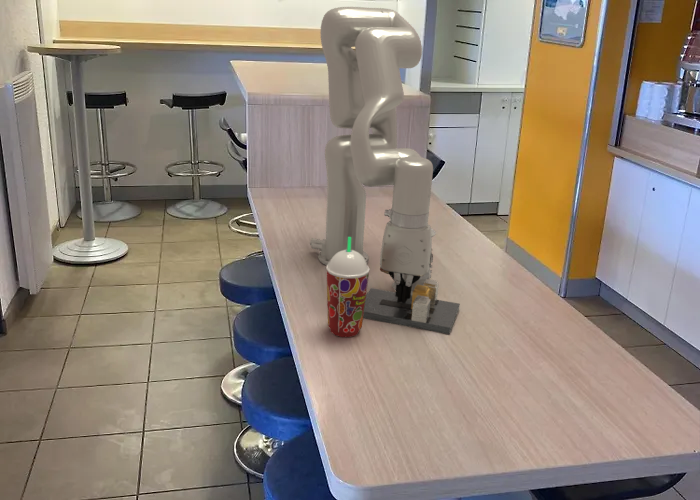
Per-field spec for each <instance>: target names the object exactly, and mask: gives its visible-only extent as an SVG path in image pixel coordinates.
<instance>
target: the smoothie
mask: <svg viewBox="0 0 700 500" xmlns="http://www.w3.org/2000/svg"><path fill="white" fill-rule="evenodd" d="M325 266H326V267H325V268H326V297H327V298H326V301H327V302H326V303H327V307H326V309H327V326H328V328H329V330H330V332H331V334H333V335H335V336H337V337H338V338H351V337H354V336H356V335H358V334H359V332H360V330H361V329H362V327H363V320H364V318H363V314H364V307H365V299H366V294H367V293H368V291H367V290H368V284H369V277H370V266H369V265H368V263H366V260H365V259H364V257H363V256H362V255H361V254H360V253H358V252H356V251H354V250H351V237H348V247H347V250H342V251H340V252H338V253H336V254H335V255H334V256H333V257H332V259H331V260H330V262H329V264H328V265H325Z"/></svg>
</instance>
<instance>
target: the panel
mask: <svg viewBox="0 0 700 500" xmlns="http://www.w3.org/2000/svg"><path fill="white" fill-rule="evenodd" d="M423 286H428V289H430V291H429V297H426V296H420V295H417V297H416V298H415V300H414V302H413V309H411V305H412V295H411V296H410V299H407V301H406V302H405V304H404V303H402V301H401V302H400V303H399V302H397V300H398V297H396V296H395V294H396V291H395V292H394V291H389V290H384V289H380V288H379V289H377V288H373V287H370V289H369V290H368V291H367V292H366V299H365V307H364V314H363V319H366V320H372V321H378V322H382V323H388V324H394V325H398V326H403V327H409V328H413V329H414V328H415V329H420V330H425V331H430V332H431V331H432V332H435V333H442V334H447V335H450V334H451V331H452V329H453V326H454V324H455V323H456V322H455V321H456V319H457V316H458V314H459V311H460V307H461V306H460V303H457V302H453V301H446V300H440V299H438V294H439V293H438V292H439V282H438V280H435V279H431V278H429V279H426V281H425V282H424V284H423Z"/></svg>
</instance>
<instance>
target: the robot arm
mask: <svg viewBox="0 0 700 500" xmlns="http://www.w3.org/2000/svg"><path fill="white" fill-rule="evenodd" d="M319 33H320V41H321V42H320V43H321V47H322V52H323V55H324V58H325V62H326V66H327V75H328V79H327V82H328V104H329V106H328V107H329V117H330V121H331V123H332V125H333V126H334V127H335V128H339V129H345V130H346V129H349V130H351V134H341V135H337V136H333V137H332V138H331V139H329V140H328V141H327V143H326V144H325V148H324V160H325V167H326V168H325V169H326V177H327V179H326V184H327V186H326V187H327V188H326V189H327V192H326V193H327V195H326V217H325V218H326V220H325V221H326V222H325V224H326V225H325V238H323V239H318V238H310V241H309V244H310V246H311V248H310V249H312V250H319V251H320V252H319V253H318V261H319V262H320V263H322V265H325V266H327V265H328V264H329V262H330V260H331V259H332V257H333V256H334V255H335V254H336V253H338V252H340V251H342V250H347V247H348V237H351V250H354V251H356V252H358V253H360V254H361V255H362V256H363V257H364V259H365V260H366V263H367V264H368V263H369V259H370V258H369V257H370V256H369V254H368V253H367V252H365V250H364V239H365V238H364V236H365V223H366V221H365V220H366V208H367V207H366V206H367V205H366V204H367V192H366V189H365V187H371V188H372V187H384V186H385V187H386V186H393V187H392V188H393V189H392V201H391V202H392V203H391V208H390V209H385V210H384V216H385V217H388V218H389V221H388V222H386V224H385V229H384V231H383V238H382V242H381V249H380V256H379V266H380V267H379V271H380V272H382V273H384V274H387V275H389V276H390V277H391V279H392V280H393V283H394V282H395V284H396V290H395V292H396V294H395V296H396V297H398V300H397V302H399V303H400V302H401V301H402V303H404V304H405V302H406V301H407V299H410V296H411V287H412V284H413V283H415V282H416V281H418V280H425V279H431V278H430V276H431V277H432V273H430V270H431V268H430V266H431V265H432V263H431V258H432V254H433V253H432V252H433V243H432V242H433V237H432V235H431V228H432V227H431V225H430V224H429V215H430V204H431V194H432V184H433V173H434V165H433V163H432V161H431V160H430V159H428V158H425V157H422V156H421V155H420V153H419V152H418V151H416V150H415V149H413V148H410V147H409V148H407V147H406V148H405V147H404V148H403V147H401V148H400V147H399V148H398V139H397V138H398V134H397V132H398V131H397V130H398V129H397V127H398V126H397V125H398V124H397V123H398V122H397V107H398V106H400V105H401V104H402V103H403V101H404V99H405V95H404V87H403V81H402V77H401V71H400V69H413V68H415V67H417V66H418V64H419V63H420V61H421V59H422V54H423V51H422V50H423V46H422V41H421V39H420V36H419V34H418V33H417V31H416V29H415V28H414V27H413V26H412V24H410V23H409V21H407V20H406V19H405V18H404V17H403V16H402V15H401V14H400V13H398V12H397V11H396V10H394V9H391V8H381V7H380V8H379V7H361V6H339V7H333V8H331V9H329V10H328V11H327V12H326V13H325V14H324V15H323V17H322V20H321V25H320V32H319ZM353 48H354V49H353ZM370 129H371V131H372V133H370ZM403 274H407V275H408V276H407V280H406V281H405V280H404V279H403Z"/></svg>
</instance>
